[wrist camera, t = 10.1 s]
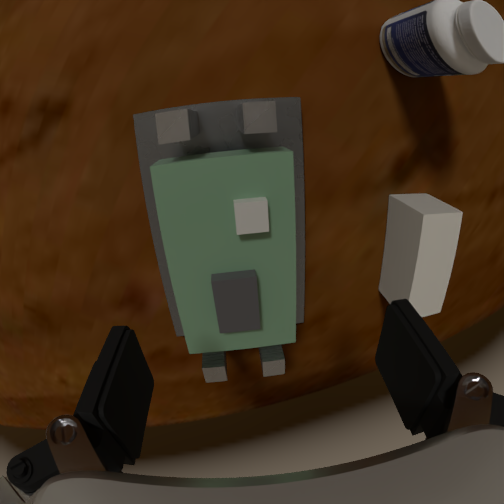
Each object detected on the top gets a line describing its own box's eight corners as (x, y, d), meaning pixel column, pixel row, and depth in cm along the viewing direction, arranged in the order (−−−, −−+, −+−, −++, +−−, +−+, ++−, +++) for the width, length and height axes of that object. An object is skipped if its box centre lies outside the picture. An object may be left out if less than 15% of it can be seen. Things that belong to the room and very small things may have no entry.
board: (283, 146, 16) (297, 153, 14) (288, 319, 22) (298, 350, 19) (159, 159, 16) (145, 169, 13) (191, 330, 21) (189, 362, 18)
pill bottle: (416, 91, 19) (506, 94, 10) (366, 47, 17) (449, 21, 9) (439, 48, 17) (524, 40, 8) (393, 6, 16) (473, -26, 7)
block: (426, 193, 23) (462, 212, 18) (412, 283, 27) (440, 312, 22) (389, 194, 23) (423, 214, 18) (378, 289, 26) (403, 321, 22)
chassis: (296, 98, 19) (331, 90, 13) (301, 315, 27) (322, 371, 20) (137, 114, 18) (99, 115, 12) (177, 329, 26) (169, 388, 20)
